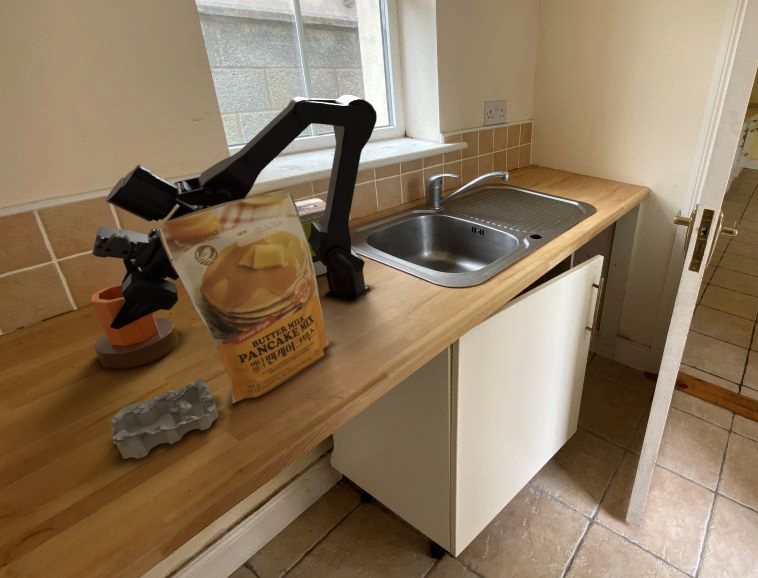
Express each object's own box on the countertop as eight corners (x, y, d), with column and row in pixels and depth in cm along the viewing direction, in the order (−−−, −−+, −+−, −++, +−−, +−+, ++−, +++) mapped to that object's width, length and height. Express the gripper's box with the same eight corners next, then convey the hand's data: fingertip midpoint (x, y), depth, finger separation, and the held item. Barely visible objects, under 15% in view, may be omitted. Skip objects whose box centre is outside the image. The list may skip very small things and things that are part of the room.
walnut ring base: (193, 338, 77) (188, 323, 76) (132, 374, 69) (125, 359, 67) (149, 327, 80) (143, 312, 78) (84, 361, 71) (77, 345, 70)
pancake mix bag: (204, 398, 65) (139, 219, 53) (318, 333, 80) (288, 182, 68) (232, 417, 62) (170, 231, 50) (344, 345, 77) (317, 190, 65)
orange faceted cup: (167, 325, 75) (152, 284, 72) (135, 347, 70) (117, 303, 66) (134, 322, 76) (117, 281, 72) (100, 343, 70) (80, 300, 67)
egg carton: (120, 468, 54) (107, 444, 52) (117, 430, 59) (105, 407, 57) (223, 424, 61) (214, 402, 59) (212, 394, 66) (204, 372, 64)
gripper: (123, 191, 73) (57, 268, 71) (120, 229, 59) (38, 324, 58) (196, 227, 80) (137, 297, 79) (207, 267, 67) (136, 352, 66)
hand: (114, 315), depth 70 cm, fingers open, 8 cm apart
